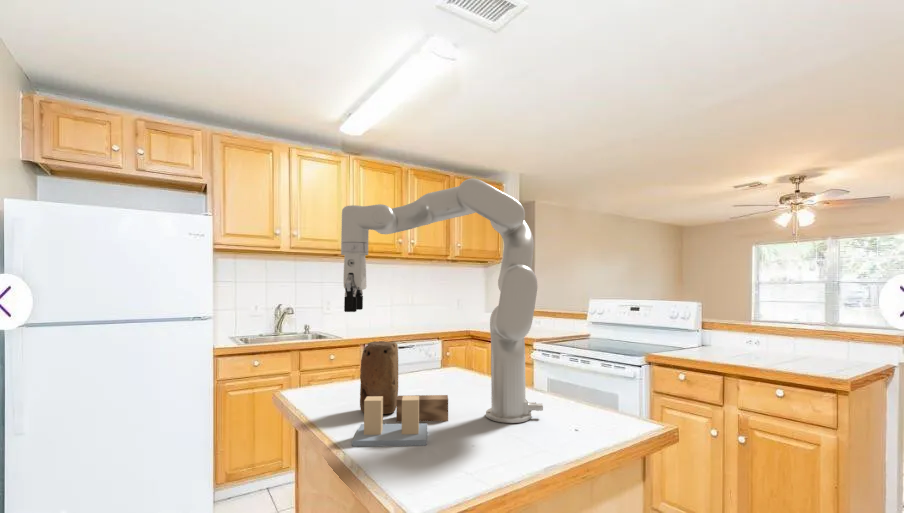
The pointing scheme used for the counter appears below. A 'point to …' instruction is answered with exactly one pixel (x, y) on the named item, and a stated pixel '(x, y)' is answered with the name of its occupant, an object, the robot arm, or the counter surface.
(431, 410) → the beam
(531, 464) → the counter surface
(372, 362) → the brown rounded tall lump
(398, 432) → the base
